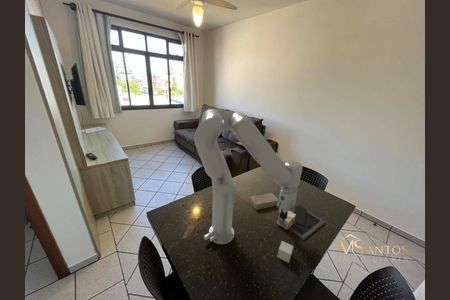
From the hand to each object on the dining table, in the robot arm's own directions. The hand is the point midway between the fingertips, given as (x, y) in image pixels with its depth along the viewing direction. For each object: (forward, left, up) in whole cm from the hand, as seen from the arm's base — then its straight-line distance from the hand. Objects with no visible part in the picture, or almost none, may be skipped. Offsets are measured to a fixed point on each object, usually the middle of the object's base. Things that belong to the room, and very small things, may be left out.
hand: (282, 217), depth 88 cm
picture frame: (+14, -5, -9) cm, 17 cm away
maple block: (+1, 0, -4) cm, 4 cm away
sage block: (-12, -9, -8) cm, 17 cm away
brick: (+11, +18, -8) cm, 23 cm away
